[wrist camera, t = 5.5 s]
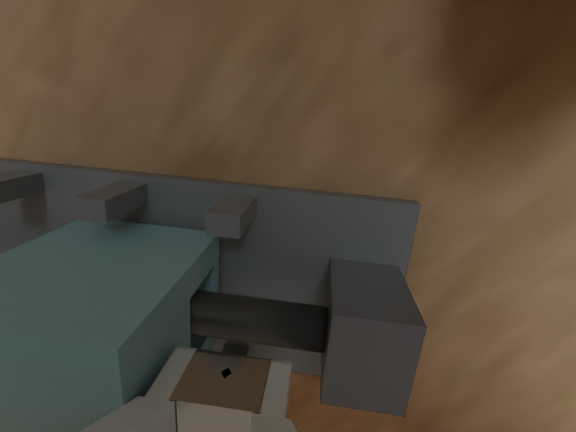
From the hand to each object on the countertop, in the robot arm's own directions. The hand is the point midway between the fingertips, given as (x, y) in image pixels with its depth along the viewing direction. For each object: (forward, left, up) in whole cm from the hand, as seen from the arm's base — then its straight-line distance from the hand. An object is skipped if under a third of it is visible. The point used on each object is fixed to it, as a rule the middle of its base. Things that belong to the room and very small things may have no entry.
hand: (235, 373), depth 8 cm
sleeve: (0, -4, -4) cm, 6 cm away
